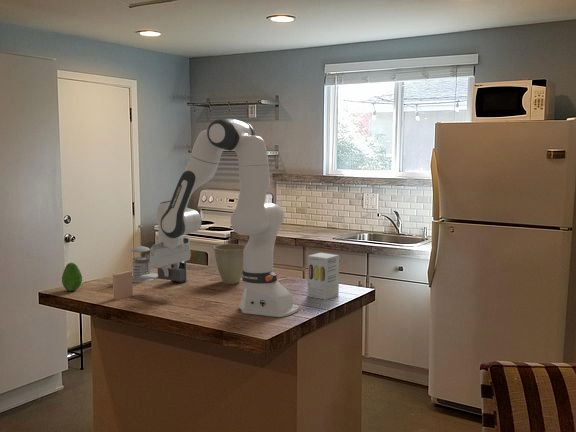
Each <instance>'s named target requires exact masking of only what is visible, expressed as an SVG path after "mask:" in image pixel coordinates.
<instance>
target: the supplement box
mask: <svg viewBox="0 0 576 432" xmlns="http://www.w3.org/2000/svg"><path fill="white" fill-rule="evenodd" d="M307 256H308V258H307V260H308V261H307V297H310V298H314V299H319V300H324V301H327V300H330V299H333V298H335V297H338V296H339V292H340V291H339V290H340V289H339V288H340V285H339V284H340V283H339V282H340V281H339V280H340V255H339V254H333V253H327V252H317V253H313V254H309V255H307Z"/></svg>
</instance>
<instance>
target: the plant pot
mask: <svg viewBox="0 0 576 432" xmlns="http://www.w3.org/2000/svg"><path fill="white" fill-rule="evenodd" d="M246 245H247V244H246ZM246 245H245V244H241V243H239V244H237V243H236V244H235V243H226V244H225V243H224V244H223V243H222V244H218V245H215V246H213V252H214V258H215V262H216V266H217V270H218V273H219V277H220V279H221V281H222V283H223V284H226V285H236V284H239V283H240V282H241V279H242V271H243V251H244V248H245V246H246Z"/></svg>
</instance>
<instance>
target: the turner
mask: <svg viewBox="0 0 576 432" xmlns="http://www.w3.org/2000/svg"><path fill="white" fill-rule="evenodd" d="M167 269H168V271H169V272H170V276H168V277H166V276H165V274H164V271H163V269H162V267H159V268H157V273H154V272H151V273H150V274H146V275H142V276H141V278H148V279H153V280H159V279H160V280H167V281H171V280H173V281H183V280H185V269H179V268H171V266H170V267H169V266H168V268H167Z"/></svg>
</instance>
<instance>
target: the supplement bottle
mask: <svg viewBox="0 0 576 432" xmlns="http://www.w3.org/2000/svg"><path fill="white" fill-rule="evenodd" d="M170 268H174V265H173V264H172V265H170ZM179 269H185V280H183V281H173V280H170V281H171V283H172V284H183V283H187V279H188V277H187V276H188V275H187V261H184V262H180V263H179Z"/></svg>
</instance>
